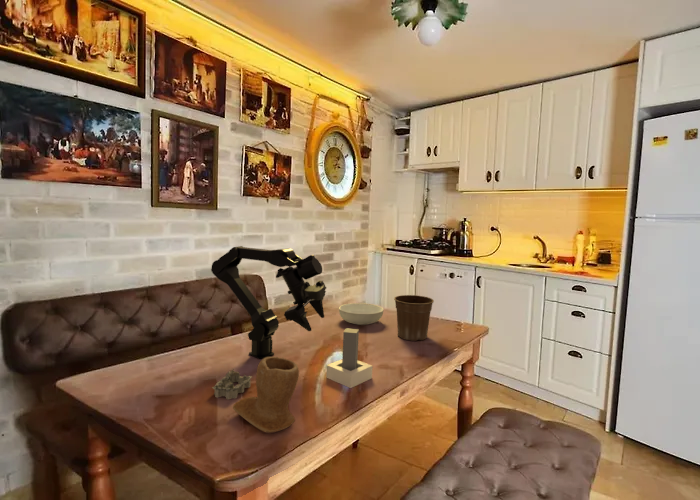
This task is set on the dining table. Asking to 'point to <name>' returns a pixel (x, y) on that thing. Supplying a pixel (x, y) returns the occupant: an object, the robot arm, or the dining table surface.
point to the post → (350, 349)
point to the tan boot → (271, 395)
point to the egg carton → (231, 385)
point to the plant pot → (413, 316)
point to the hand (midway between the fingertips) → (316, 324)
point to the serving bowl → (361, 313)
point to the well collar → (349, 373)
